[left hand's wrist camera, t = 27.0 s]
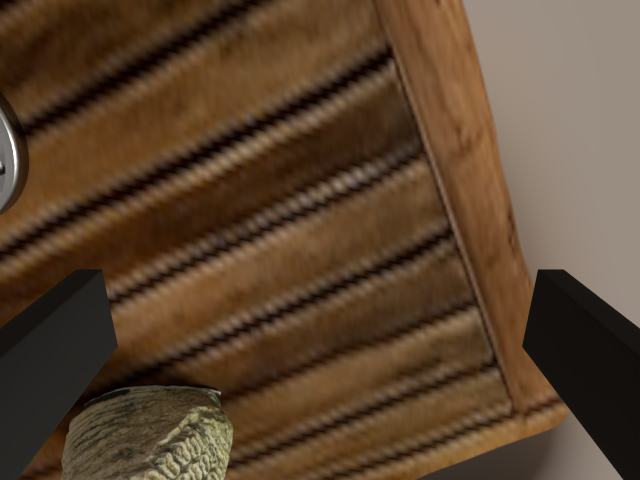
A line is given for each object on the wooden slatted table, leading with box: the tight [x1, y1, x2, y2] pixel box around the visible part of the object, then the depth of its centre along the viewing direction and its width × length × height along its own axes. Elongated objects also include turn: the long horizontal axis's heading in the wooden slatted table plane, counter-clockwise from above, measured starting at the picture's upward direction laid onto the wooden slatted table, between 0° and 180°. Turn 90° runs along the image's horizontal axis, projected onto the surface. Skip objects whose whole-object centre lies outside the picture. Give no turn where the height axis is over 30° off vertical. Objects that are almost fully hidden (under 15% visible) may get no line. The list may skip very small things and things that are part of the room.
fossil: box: [61, 385, 233, 480], centre depth 40 cm, size 9×18×15 cm, turn 109°
